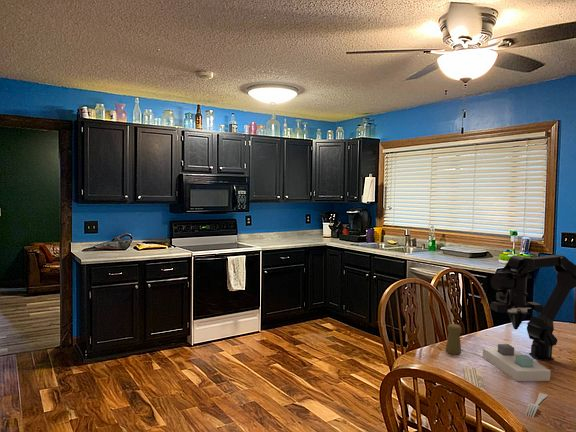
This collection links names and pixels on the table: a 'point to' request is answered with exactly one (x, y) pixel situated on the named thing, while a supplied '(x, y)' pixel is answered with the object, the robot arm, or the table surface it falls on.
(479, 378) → the newspaper
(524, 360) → the teal green cube
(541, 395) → the fork
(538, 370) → the white socket board
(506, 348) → the dark grey cube
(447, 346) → the olive brown upright piece
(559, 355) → the table surface
